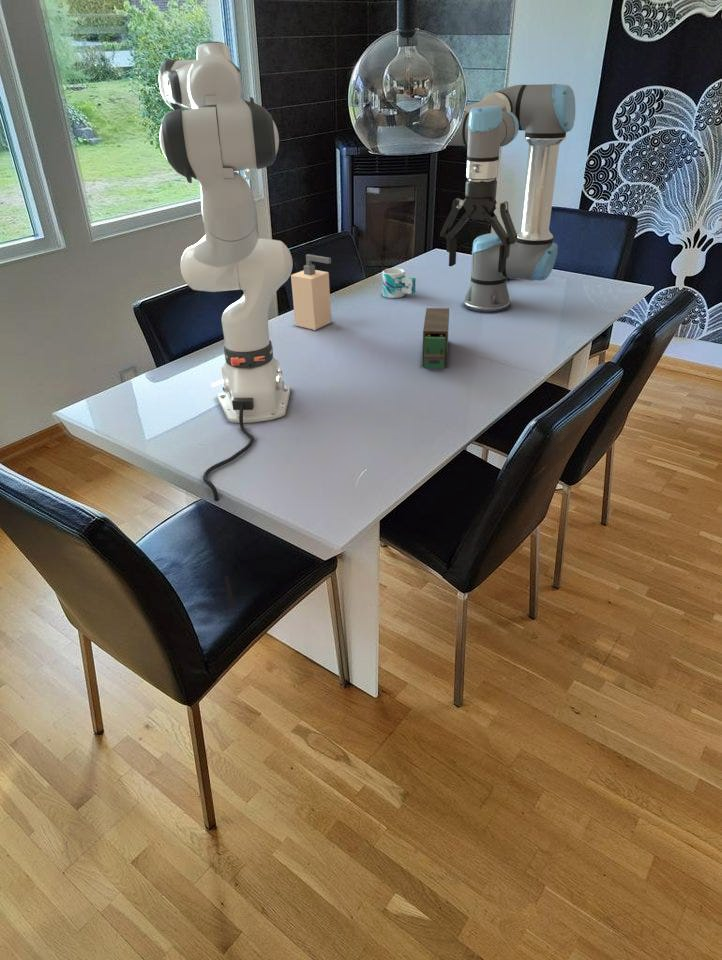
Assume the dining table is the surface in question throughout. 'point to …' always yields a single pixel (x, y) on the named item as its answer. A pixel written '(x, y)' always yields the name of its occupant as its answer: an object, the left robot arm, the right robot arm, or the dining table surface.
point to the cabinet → (436, 326)
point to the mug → (397, 283)
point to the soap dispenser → (311, 295)
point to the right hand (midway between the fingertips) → (476, 268)
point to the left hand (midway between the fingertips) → (229, 180)
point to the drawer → (434, 351)
